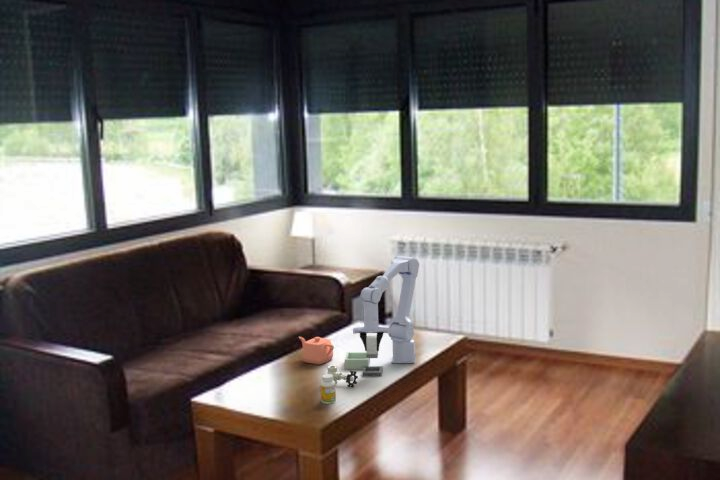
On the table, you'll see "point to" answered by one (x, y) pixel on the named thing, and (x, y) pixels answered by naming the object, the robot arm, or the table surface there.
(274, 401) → the table surface
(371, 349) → the strut
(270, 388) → the table surface
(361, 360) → the bin
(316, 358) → the teapot
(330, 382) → the supplement bottle
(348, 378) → the valve
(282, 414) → the table surface
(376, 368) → the socket
